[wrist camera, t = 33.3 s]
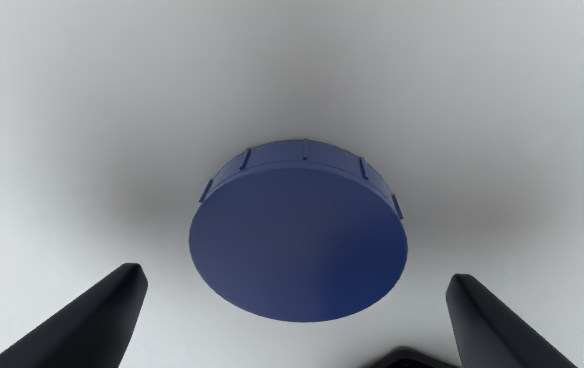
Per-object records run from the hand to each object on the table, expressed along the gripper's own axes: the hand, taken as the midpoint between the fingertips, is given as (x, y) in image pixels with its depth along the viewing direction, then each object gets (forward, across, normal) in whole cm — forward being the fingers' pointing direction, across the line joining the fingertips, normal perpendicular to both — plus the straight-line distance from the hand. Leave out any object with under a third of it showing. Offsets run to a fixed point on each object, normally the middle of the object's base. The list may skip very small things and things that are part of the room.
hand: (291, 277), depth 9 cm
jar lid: (+2, 0, +1) cm, 2 cm away
